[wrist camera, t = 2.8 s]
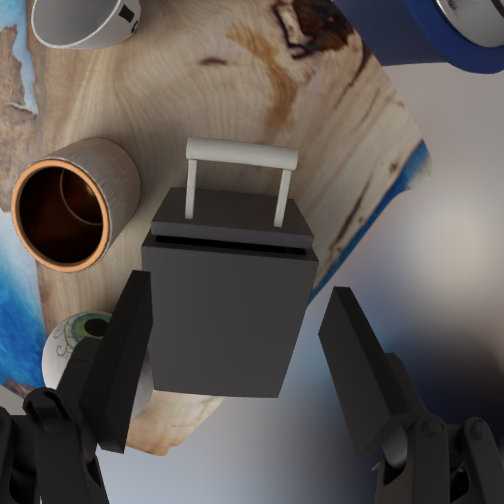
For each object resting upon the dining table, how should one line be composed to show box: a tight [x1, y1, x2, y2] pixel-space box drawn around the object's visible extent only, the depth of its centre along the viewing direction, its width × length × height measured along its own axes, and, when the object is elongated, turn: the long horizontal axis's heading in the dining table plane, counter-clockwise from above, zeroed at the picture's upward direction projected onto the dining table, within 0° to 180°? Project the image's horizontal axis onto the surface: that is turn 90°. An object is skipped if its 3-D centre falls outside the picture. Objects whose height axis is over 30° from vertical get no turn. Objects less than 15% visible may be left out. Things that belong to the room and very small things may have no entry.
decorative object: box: [42, 311, 154, 420], centre depth 34 cm, size 15×15×15 cm
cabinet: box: [141, 228, 319, 398], centre depth 32 cm, size 18×14×11 cm
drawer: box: [151, 137, 314, 254], centre depth 30 cm, size 23×13×9 cm, turn 172°
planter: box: [11, 138, 141, 273], centre depth 27 cm, size 11×11×10 cm
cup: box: [31, 0, 141, 50], centre depth 18 cm, size 8×8×10 cm
